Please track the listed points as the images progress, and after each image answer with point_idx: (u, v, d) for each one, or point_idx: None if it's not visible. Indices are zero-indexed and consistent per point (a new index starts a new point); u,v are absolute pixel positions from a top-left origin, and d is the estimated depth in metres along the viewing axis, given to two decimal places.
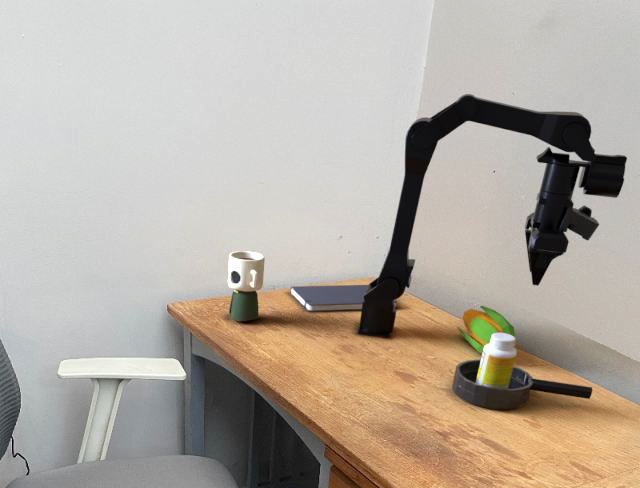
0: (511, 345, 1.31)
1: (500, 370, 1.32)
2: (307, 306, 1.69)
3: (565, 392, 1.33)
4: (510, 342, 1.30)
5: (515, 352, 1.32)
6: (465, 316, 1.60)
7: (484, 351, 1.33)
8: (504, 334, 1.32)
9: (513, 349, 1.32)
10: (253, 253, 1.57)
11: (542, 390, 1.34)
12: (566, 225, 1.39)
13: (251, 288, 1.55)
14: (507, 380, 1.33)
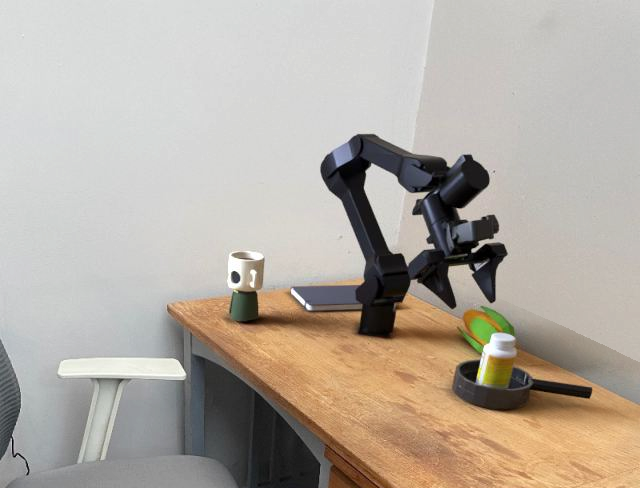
0: (511, 345, 1.31)
1: (500, 370, 1.32)
2: (307, 306, 1.69)
3: (565, 392, 1.33)
4: (510, 342, 1.30)
5: (515, 352, 1.32)
6: (465, 316, 1.60)
7: (484, 351, 1.33)
8: (504, 334, 1.32)
9: (513, 349, 1.32)
10: (253, 253, 1.57)
11: (542, 390, 1.34)
12: (451, 242, 1.33)
13: (251, 288, 1.55)
14: (507, 380, 1.33)
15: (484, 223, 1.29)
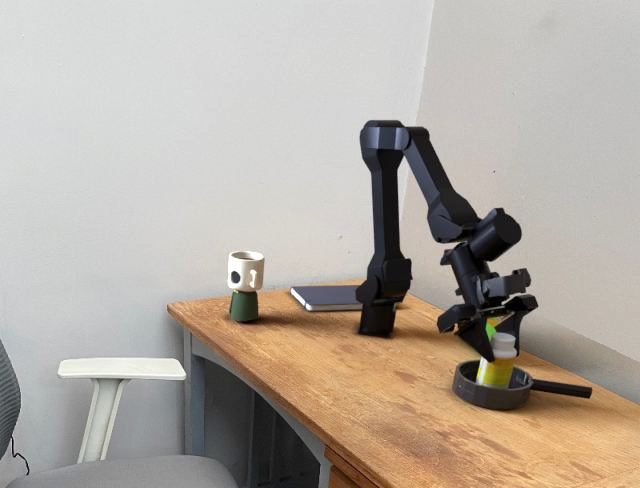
0: (511, 345, 1.31)
1: (500, 370, 1.32)
2: (307, 306, 1.69)
3: (565, 392, 1.33)
4: (510, 342, 1.30)
5: (515, 352, 1.32)
6: None
7: None
8: (504, 334, 1.32)
9: (513, 349, 1.32)
10: (253, 253, 1.57)
11: (542, 390, 1.34)
12: (481, 296, 1.30)
13: (251, 288, 1.55)
14: (507, 380, 1.33)
15: (516, 278, 1.26)
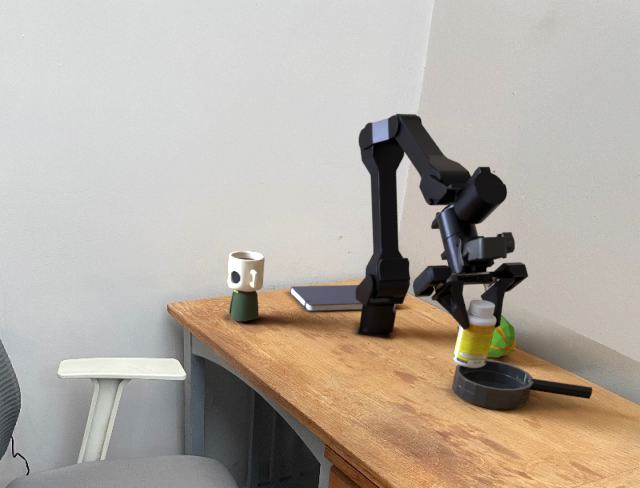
0: (489, 312, 1.25)
1: (475, 338, 1.26)
2: (307, 306, 1.69)
3: (565, 392, 1.33)
4: (487, 309, 1.24)
5: (493, 320, 1.26)
6: None
7: None
8: (485, 302, 1.26)
9: (492, 317, 1.26)
10: (253, 253, 1.57)
11: (542, 390, 1.34)
12: (461, 259, 1.25)
13: (251, 288, 1.55)
14: (484, 350, 1.28)
15: (495, 241, 1.20)
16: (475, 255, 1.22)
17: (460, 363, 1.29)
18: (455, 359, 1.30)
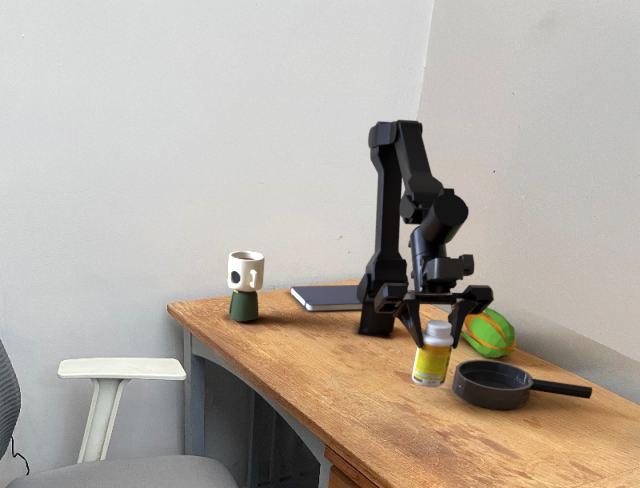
0: (443, 333, 1.25)
1: (429, 357, 1.27)
2: (307, 306, 1.69)
3: (565, 392, 1.33)
4: (441, 330, 1.25)
5: (448, 341, 1.26)
6: None
7: None
8: (443, 322, 1.27)
9: (448, 338, 1.26)
10: (253, 253, 1.57)
11: (542, 390, 1.34)
12: (421, 278, 1.26)
13: (251, 288, 1.55)
14: (439, 370, 1.28)
15: (450, 262, 1.21)
16: (431, 275, 1.23)
17: (416, 381, 1.30)
18: (412, 377, 1.31)
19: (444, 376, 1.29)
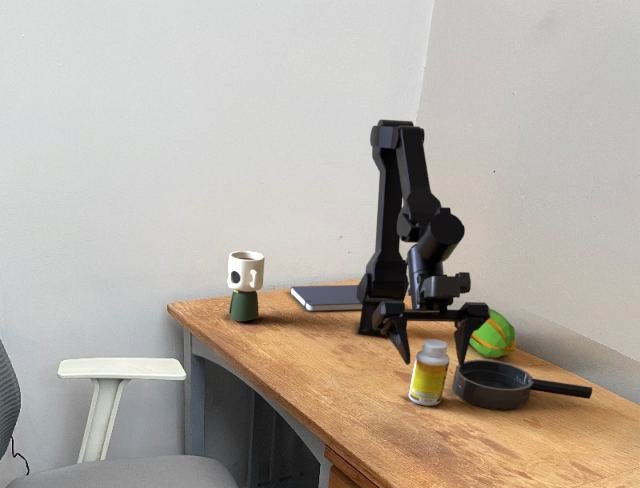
0: (439, 352, 1.27)
1: (425, 376, 1.28)
2: (307, 306, 1.69)
3: (565, 392, 1.33)
4: (437, 349, 1.26)
5: (444, 361, 1.27)
6: None
7: (416, 356, 1.30)
8: (439, 342, 1.28)
9: (444, 357, 1.28)
10: (253, 253, 1.57)
11: (542, 390, 1.34)
12: (418, 296, 1.27)
13: (251, 288, 1.55)
14: (435, 389, 1.29)
15: (447, 280, 1.22)
16: (428, 293, 1.24)
17: (412, 400, 1.32)
18: (409, 395, 1.33)
19: (440, 394, 1.31)
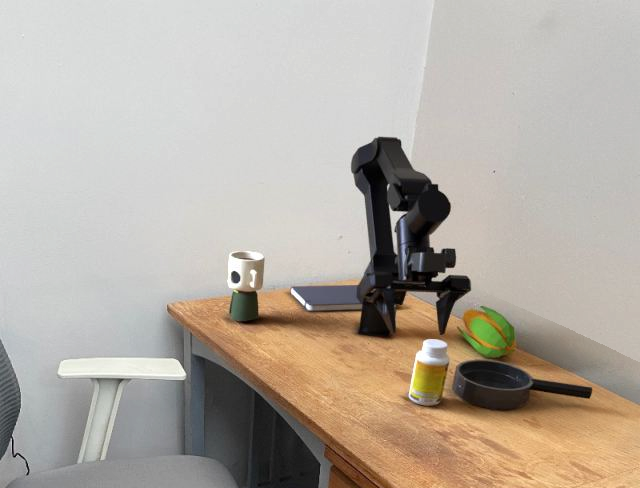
0: (439, 352, 1.27)
1: (425, 376, 1.28)
2: (307, 306, 1.69)
3: (565, 392, 1.33)
4: (437, 349, 1.26)
5: (444, 361, 1.27)
6: (465, 316, 1.60)
7: (416, 355, 1.30)
8: (439, 342, 1.28)
9: (444, 357, 1.28)
10: (253, 253, 1.57)
11: (542, 390, 1.34)
12: (406, 268, 1.34)
13: (251, 288, 1.55)
14: (435, 389, 1.29)
15: (435, 257, 1.29)
16: (416, 267, 1.31)
17: (412, 400, 1.32)
18: (409, 395, 1.33)
19: (440, 394, 1.31)
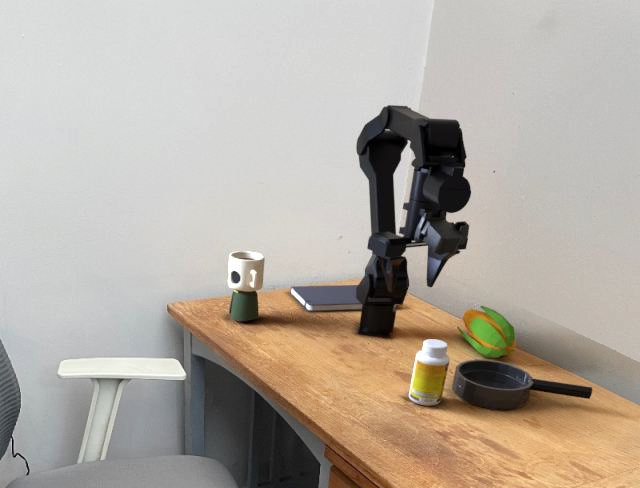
0: (439, 352, 1.27)
1: (425, 376, 1.28)
2: (307, 306, 1.69)
3: (565, 392, 1.33)
4: (437, 349, 1.26)
5: (444, 361, 1.27)
6: (465, 316, 1.60)
7: (416, 356, 1.30)
8: (439, 342, 1.28)
9: (444, 357, 1.28)
10: (253, 253, 1.57)
11: (542, 390, 1.34)
12: (418, 234, 1.34)
13: (251, 288, 1.55)
14: (435, 389, 1.29)
15: (452, 241, 1.31)
16: (431, 244, 1.32)
17: (412, 400, 1.32)
18: (409, 395, 1.33)
19: (440, 394, 1.31)
